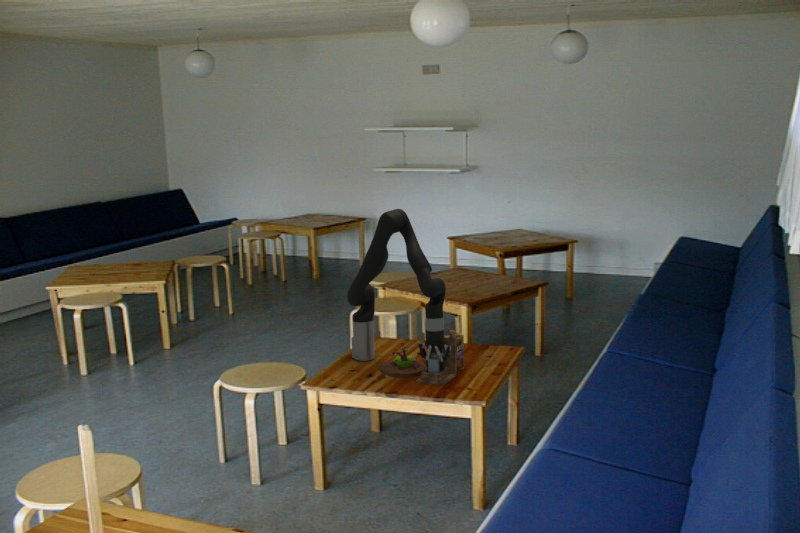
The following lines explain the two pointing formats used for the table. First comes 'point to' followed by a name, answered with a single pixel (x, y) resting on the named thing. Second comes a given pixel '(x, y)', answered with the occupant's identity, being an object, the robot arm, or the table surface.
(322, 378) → the table surface
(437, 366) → the block
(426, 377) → the chair
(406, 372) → the plant
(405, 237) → the robot arm
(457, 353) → the candy box
